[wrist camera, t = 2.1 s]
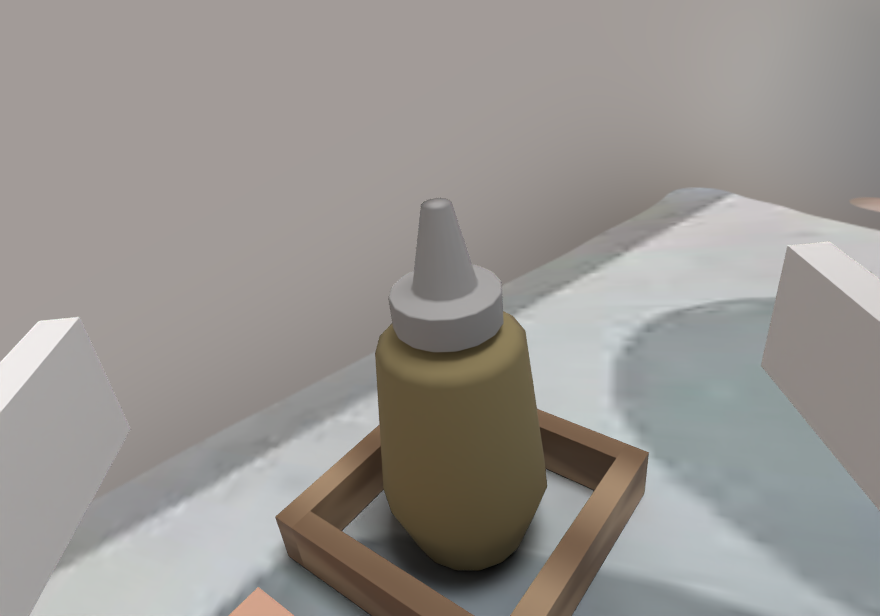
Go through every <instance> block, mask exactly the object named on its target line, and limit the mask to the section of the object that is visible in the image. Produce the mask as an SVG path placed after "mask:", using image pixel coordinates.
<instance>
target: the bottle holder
mask: <svg viewBox="0 0 880 616" xmlns="http://www.w3.org/2000/svg"><path fill="white" fill-rule="evenodd" d="M537 413H538V420H539V426H540V433H541V440H542V447H543V453H544V460H545V468H546V469H548V470H550V471H553V472H555V473H557V474H559V475H562V476H564V477H566V478H568V479H571V480H573V481H575V482H577V483H580V484H582V485H584V486H586V487H588V488H591V489H593V490H595V491H594V492H593V494H592V495H591V497H590V498H589V500H588V501H587V503H586V504H585V505H584V507H583V508H582V510H581V511H580V513H579V514H578V516H577V517H576V519H575V520H574V522H573V523H572V525H571V526H570V528H569V529H568V531H567V532H566V534H565V535H564V537H563V538H562V540H561V541H560V542H559V544H558V545H557V547H556V548H555V550H554V551H553V553H552V554H551V556H550V557H549V559H548V560H547V562H546V563H545V565H544V566H543V568H542V569H541V571H540V572H539V574H538V575H537V577H536V578H535V579H534V581H533V582H532V584H531V585H530V587H529V588H528V590H527V591H526V593H525V594H524V596H523V597H522V599H521V600H520V602H519V603H518V605H517V606H516V608H515V609H514V611H513V612H512V614H511V615H510V616H572V614H573V612H574V611H575V609H576V607H577V606H578V604H579V602H580V601H581V599H582V597H583V596H584V594H585V592H586V590H587V589H588V587H589V585H590V584H591V582H592V580H593V579H594V577H595V575H596V574H597V572H598V570H599V569H600V567H601V565H602V564H603V562H604V560H605V559H606V557H607V555H608V554H609V552H610V550H611V548H612V547H613V545H614V543H615V542H616V540H617V538H618V537H619V535H620V533H621V532H622V530H623V528H624V527H625V525H626V523H627V522H628V520H629V518H630V517H631V515H632V513H633V512H634V510H635V508H636V506H637V505H638V503H639V501H640V500H641V498H642V496H643V495H644V492H645V483H646V474H647V464H648V455H649V452H646V451H644V450H641V449H639V448H636V447H633V446H631V445H628V444H626V443H623V442H621V441H618V440H616V439H613V438H610V437H608V436H605V435H603V434H600V433H598V432H595V431H592V430H590V429H587V428H585V427H582V426H580V425H577V424H575V423H572V422H569V421H567V420H564V419H562V418H559V417H557V416H554V415H552V414H549V413H546V412H544V411H541V410H539V409H537ZM383 489H384V488H383V472H382V455H381V439H380V425H378V426H377V427H376V428H375V429H374V430H373V431H372V432H371V433H369V434H368V435H367V436H366V437H365V438H364V439H363V440H362V441H360V442H359V443H358V444H357V445H356V446H355V447H354V448H353V449H351V450H350V451H349V452H348V453H347V454H346V455H345V456H343V457H342V458H341V459H340V460H339V461H338V462H337V463H336V464H334V465H333V466H332V467H331V468H330V469H329V470H328V471H327V472H325V473H324V474H323V475H322V476H321V477H320V478H319V479H317V480H316V481H315V482H314V483H313V484H312V485H311V486H310V487H308V488H307V489H306V490H305V491H304V492H303V493H302V494H301V495H299V496H298V497H297V498H296V499H295V500H294V501H293V502H292V503H290V504H289V505H288V506H287V507H286V508H285V509H284V510H282V511H281V512H280V513H279V514H278V515H277V516H276V517H275V518H276V521H277V524H278V526H279V529H280V532H281V535H282V538H283V541H284V544H285V547H286V550H287V553H288V555H289V557H291V558H292V559H293V560H295V561H296V562H298V563H299V564H300V565H302V566H303V567H305V568H306V569H307V570H309V571H310V572H312V573H313V574H314V575H316V576H317V577H319V578H320V579H321V580H323V581H324V582H326V583H327V584H328V585H330V586H331V587H333V588H334V589H335V590H337V591H338V592H340V593H341V594H342V595H344V596H345V597H347V598H348V599H349V600H351V601H352V602H353V603H355V604H356V605H358V606H359V607H360V608H362V609H363V610H365V611H366V612H367V613H369V614H370V615H372V616H474V615H472V614H471V613H469V612H468V611H466V610H464V609H463V608H461V607H460V606H458V605H457V604H455V603H453V602H452V601H450V600H449V599H447V598H446V597H444V596H442V595H441V594H439V593H438V592H436V591H435V590H433V589H431V588H430V587H428V586H427V585H425V584H424V583H422V582H421V581H419V580H417V579H416V578H414V577H413V576H411V575H410V574H408V573H406V572H405V571H403V570H402V569H400V568H399V567H397V566H395V565H394V564H392V563H391V562H389V561H388V560H386V559H384V558H383V557H381V556H380V555H378V554H377V553H375V552H373V551H372V550H370V549H369V548H367V547H366V546H364V545H363V544H361V543H359V542H358V541H356V540H355V539H353V538H352V537H350V536H348V535H347V534H345V533H344V532H342V530H343V529H344V528H345V527H346V526H347V525H348V524H349V523H350V522H351V521H352V520H353V519H354V518H355V517H356V516H357V515H358V514H359V513H360V512H361V511H362V510H363V509H364V508H365V507H366V506H367V505H368V504H369V503H370V502H371V501H372V500H373V499H374V498H375V497H376V496H377V495H378V494H379V493H380V492H381V491H382V490H383Z"/></svg>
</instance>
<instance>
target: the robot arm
mask: <svg viewBox="0 0 880 616" xmlns="http://www.w3.org/2000/svg"><path fill="white" fill-rule="evenodd" d="M761 366H762V368H763V369H764V370H765V371H766V372H767V374H768V375H769V376H770V377H771V379H772V380H773V381H774V382H775V383H776V385H777V386H778V387H779V388H780V390H781V391H782V392H783V393H784V394H785V396H786V397H787V398H788V399H789V401H790V402H791V403H792V404H793V406H794V407H795V408H796V409H797V410H798V412H799V413H800V414H801V415H802V417H803V418H804V419H805V420H806V421H807V423H808V424H809V425H810V426H811V428H812V429H813V430H814V431H815V432H816V434H817V435H818V436H819V437H820V439H821V440H822V441H823V442H824V443H825V445H826V446H827V447H828V448H829V450H830V451H831V452H832V453H833V454H834V456H835V457H836V458H837V459H838V461H839V462H840V463H841V464H842V465H843V467H844V468H845V469H846V470H847V472H848V473H849V474H850V475H851V477H852V478H853V479H854V480H855V481H856V483H857V484H858V485H859V486H860V488H861V489H862V490H863V491H864V492H865V494H866V495H867V496H868V497H869V499H870V500H871V501H872V502H873V503H874V505H875V506H876V507H877V508H878V510H879V511H880V279H879V278H878V277H877V276H875V275H874V274H873V273H871V272H870V271H869V270H867V269H866V268H864V267H863V266H862V265H860V264H859V263H858V262H856V261H855V260H854V259H852V258H851V257H850V256H848V255H847V254H845V253H844V252H843V251H841V250H840V249H839V248H837V247H836V246H835V245H833V244H832V243H831V242H829V241H828V242H818V243H808V244H798V245H788V246H787V250H786V255H785V259H784V264H783V268H782V273H781V277H780V282H779V286H778V291H777V296H776V300H775V305H774V309H773V314H772V318H771V323H770V327H769V332H768V336H767V341H766V345H765V350H764V354H763V359H762V363H761ZM129 431H130V427H129V424H128V422H127V420H126V418H125V415H124V413H123V411H122V409H121V407H120V404H119V402H118V400H117V398H116V395H115V393H114V391H113V389H112V387H111V384H110V382H109V380H108V378H107V376H106V374H105V371H104V369H103V367H102V365H101V363H100V361H99V358H98V356H97V354H96V352H95V349H94V347H93V345H92V343H91V341H90V338H89V336H88V334H87V332H86V330H85V327H84V325H83V323H82V321H81V319H80V317H74V318H65V319H54V320H45V321H38V322H37V323H36V324H35V325H34V326H33V328H32V329H31V330H30V331H29V332H28V333H27V334H26V335H25V336H24V337H23V338H22V340H20V342H19V343H18V344H17V345H16V346H15V347H14V348H13V349H12V350H11V351H10V352H9V353H8V355H7V356H6V357H5V358H4V359H3V360H2V361H1V362H0V616H29V615H30V613H31V612H32V610H33V608H34V606H35V604H36V602H37V601H38V599H39V597H40V595H41V593H42V591H43V589H44V588H45V586H46V584H47V582H48V580H49V578H50V577H51V575H52V573H53V571H54V569H55V567H56V566H57V564H58V562H59V560H60V558H61V556H62V555H63V553H64V551H65V549H66V547H67V545H68V543H69V542H70V540H71V538H72V536H73V534H74V532H75V531H76V529H77V527H78V525H79V523H80V521H81V520H82V518H83V516H84V514H85V512H86V510H87V508H88V507H89V505H90V503H91V501H92V499H93V497H94V496H95V494H96V492H97V490H98V488H99V486H100V485H101V483H102V481H103V479H104V477H105V475H106V474H107V472H108V470H109V468H110V466H111V464H112V462H113V461H114V459H115V457H116V455H117V453H118V451H119V449H120V448H121V446H122V444H123V442H124V440H125V439H126V437H127V435H128V433H129Z"/></svg>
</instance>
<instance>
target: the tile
mask: <svg viewBox="0 0 880 616" xmlns="http://www.w3.org/2000/svg"><path fill="white" fill-rule="evenodd" d="M229 616H294V615H293V614H292V613H290V612H289V611H288V610H287V609H285V608H284V607H283V606H281V605H280V604H279V603H278V602H276V601H275V600H274V599H273V598H271V597H270V596H269V595H268V594H266V593H265V592H264V591H262V590H261V589H260V588H259V587H258V588H257V589H256V590H255V591H254V592H253V593H252V594H251V595H250V596H249V597H247V598H246V599H245V600H244V601H243V602H242V603H241V604H240V605H239V606H238V607H237V608H236V609H235V610H234V611H233V612H232V613H231V614H230V615H229Z"/></svg>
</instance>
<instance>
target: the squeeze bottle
mask: <svg viewBox="0 0 880 616" xmlns="http://www.w3.org/2000/svg"><path fill="white" fill-rule="evenodd" d="M389 305H390V311H391V317H392V324H391V325H390V326H389V327H388V328H387V329H386V330H385V331H384V332H383V334H381V335H380V337H379V341H378V345H377V349H376V352H375V357H376V374H377V390H378V406H379V423H380V439H381V455H382V472H383V488H384V491H385V494H386V497H387V500H388V503H389V506H390V509H391V512H392V513H393V515H394V516H395V517H396V518H397V520H398V521H399V522H400V523H401V525H402V526H403V527H404V528H405V530H406V531H407V532H408V534H409V535H410V536H411V537H412V539H413V540H414V541H415V542H416V544H417V545H418V546H419V547H420V549H422V550H423V551H424V552H425V553H426V554H427V555H428V556H429V557H430V558H431V559H432V560H433V561H434V562H435V563H438V564H441V565H443V566H446V567H449V568H451V569H454V570H482V569H485V568H488V567H490V566H493V565H496V564H499V563H501V562H503V561H504V560H505V559H506V558H507V557H508V556H510V555H511V554H512V553H513V552H514V551H515V550H516V549H517V548H518V547H519V545H520V543H521V541H522V539H523V537H524V535H525V533H526V531H527V529H528V527H529V525H530V523H531V521H532V519H533V517H534V515H535V513H536V510H537V508H538V506H539V504H540V501H541V499H542V497H543V495H544V492H545V490H546V488H547V480H546V469H545V460H544V453H543V447H542V440H541V433H540V426H539V420H538V413H537V406H536V400H535V393H534V386H533V379H532V373H531V366H530V359H529V353H528V346H527V339H526V332H525V330H524V329H523V327H522V326H521V325H520V324H519V323H518V321H517V320H516V319H515V318H514V317H513V316H512V315H510V314H508V313H506V312H504V311H503V299H502V282H501V281H500V280H499V279H498V277H497V276H496V275H495V274H494V273H493V272H492V271H490V270H487V269H485V268H483V267H480V266H478V265H473V264H472V263H471V260H470V257H469V254H468V251H467V248H466V244H465V241H464V238H463V236H462V232H461V229H460V226H459V223H458V220H457V217H456V214H455V211H454V208H453V205H452V202H451V201H450V200H448V199H444V198H435V199H430V200H427V201H425V202H423V203H422V204H421V210H420V219H419V229H418V239H417V248H416V258H415V267H414V271H412V272H410V273H408V274H406V275H404V276H402V278H400V279H399V280H398V282H396V283H395V284H394V285H393V286H392V288H391V291H390V295H389Z"/></svg>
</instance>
